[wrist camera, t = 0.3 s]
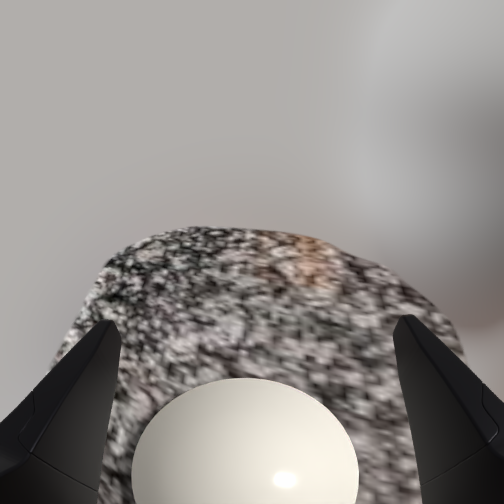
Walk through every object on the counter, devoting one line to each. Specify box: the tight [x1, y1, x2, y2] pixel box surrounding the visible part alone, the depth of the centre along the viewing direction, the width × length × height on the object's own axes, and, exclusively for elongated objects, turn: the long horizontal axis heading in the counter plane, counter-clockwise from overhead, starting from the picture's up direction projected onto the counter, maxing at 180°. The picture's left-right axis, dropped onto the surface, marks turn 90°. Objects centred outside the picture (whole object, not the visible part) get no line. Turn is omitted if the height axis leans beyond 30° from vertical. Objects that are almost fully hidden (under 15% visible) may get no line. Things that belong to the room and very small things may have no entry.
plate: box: [131, 378, 359, 504], centre depth 18 cm, size 16×16×1 cm
